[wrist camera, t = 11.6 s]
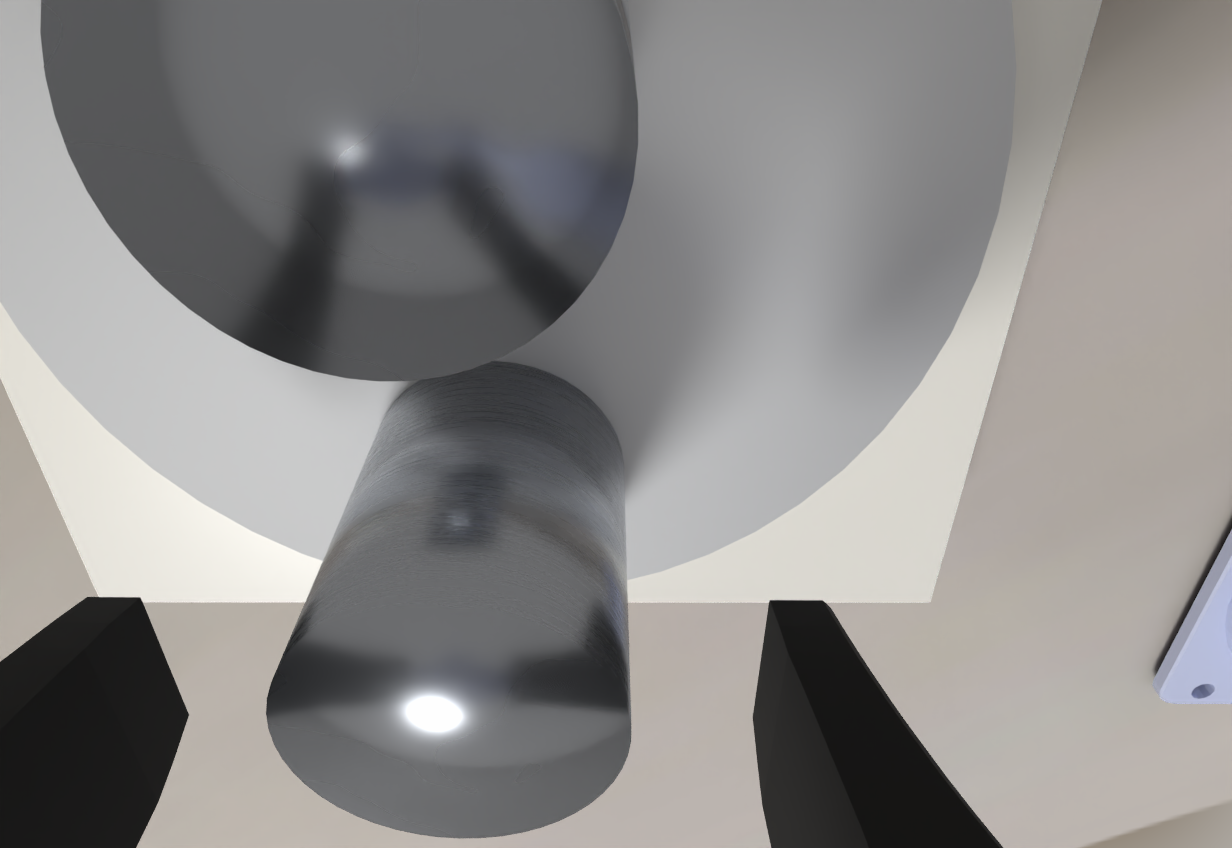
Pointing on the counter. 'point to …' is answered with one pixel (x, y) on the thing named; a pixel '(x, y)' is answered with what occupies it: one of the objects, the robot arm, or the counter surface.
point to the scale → (609, 316)
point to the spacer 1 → (355, 165)
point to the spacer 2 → (468, 615)
